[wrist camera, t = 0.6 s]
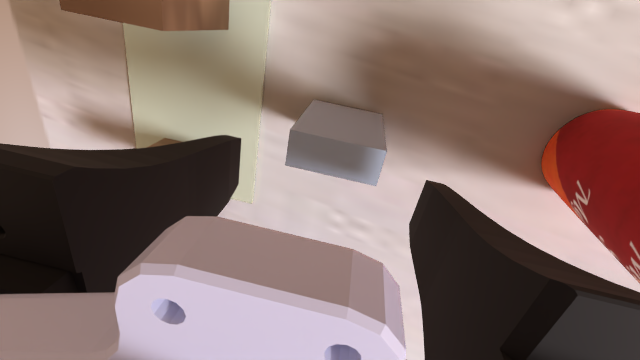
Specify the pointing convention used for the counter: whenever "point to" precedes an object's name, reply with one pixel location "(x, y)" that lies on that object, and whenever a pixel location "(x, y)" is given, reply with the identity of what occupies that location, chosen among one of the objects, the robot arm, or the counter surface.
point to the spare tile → (338, 142)
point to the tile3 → (157, 13)
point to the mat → (202, 83)
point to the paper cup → (601, 178)
